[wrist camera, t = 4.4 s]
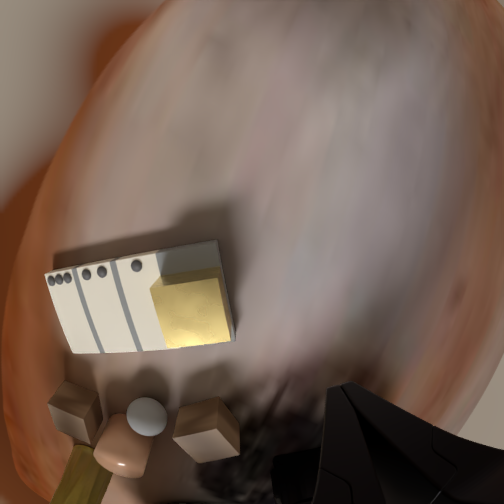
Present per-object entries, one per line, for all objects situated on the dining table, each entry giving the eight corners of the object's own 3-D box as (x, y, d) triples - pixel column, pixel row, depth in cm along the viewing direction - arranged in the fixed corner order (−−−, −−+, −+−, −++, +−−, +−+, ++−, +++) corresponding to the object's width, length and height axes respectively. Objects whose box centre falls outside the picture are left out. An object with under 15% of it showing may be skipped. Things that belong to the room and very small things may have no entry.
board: (217, 239, 18) (215, 243, 17) (235, 333, 20) (235, 341, 19) (52, 270, 18) (43, 274, 17) (79, 346, 20) (72, 354, 18)
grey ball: (163, 388, 21) (153, 416, 17) (175, 416, 22) (169, 444, 18) (127, 389, 21) (114, 415, 17) (141, 416, 22) (131, 442, 18)
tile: (220, 266, 18) (217, 277, 15) (231, 322, 18) (231, 340, 16) (160, 275, 18) (149, 288, 15) (175, 329, 18) (167, 348, 16)
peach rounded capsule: (143, 414, 22) (129, 451, 17) (160, 445, 23) (152, 480, 18) (101, 412, 22) (84, 445, 17) (120, 442, 23) (108, 474, 18)
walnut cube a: (218, 395, 21) (216, 428, 17) (239, 423, 22) (240, 454, 18) (179, 406, 22) (172, 438, 18) (201, 432, 22) (198, 463, 18)
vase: (85, 439, 23) (46, 525, 9) (124, 467, 24) (98, 553, 10) (67, 448, 23) (31, 521, 9) (102, 473, 24) (76, 547, 10)
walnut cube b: (98, 392, 21) (83, 419, 17) (103, 418, 22) (90, 444, 18) (65, 380, 21) (47, 403, 17) (71, 406, 21) (56, 429, 18)
